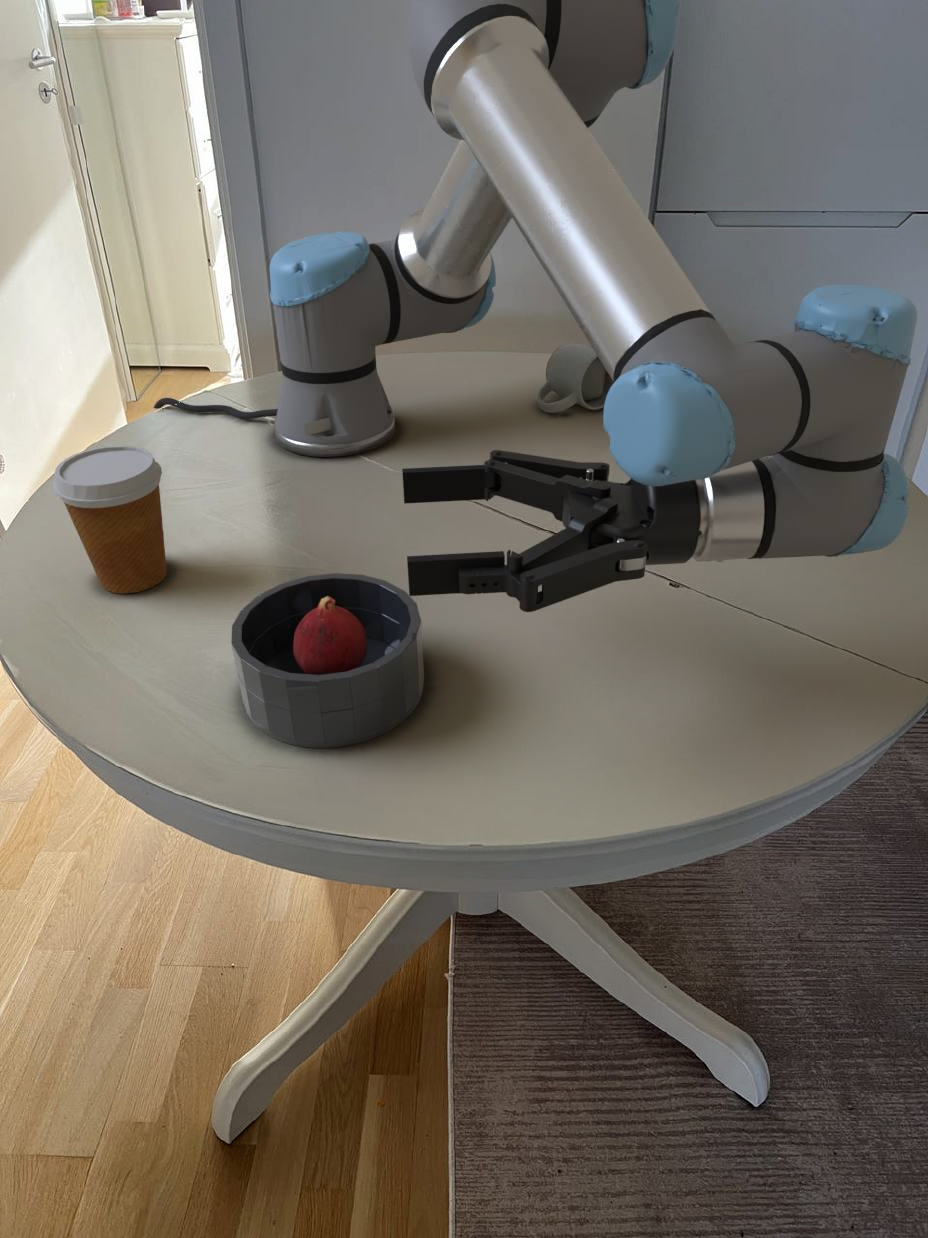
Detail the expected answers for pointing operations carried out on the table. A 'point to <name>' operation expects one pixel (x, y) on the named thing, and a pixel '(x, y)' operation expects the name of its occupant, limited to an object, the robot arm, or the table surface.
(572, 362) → the ceramic mug
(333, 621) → the onion
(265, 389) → the table surface
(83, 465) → the disposable coffee cup
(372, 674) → the pot
